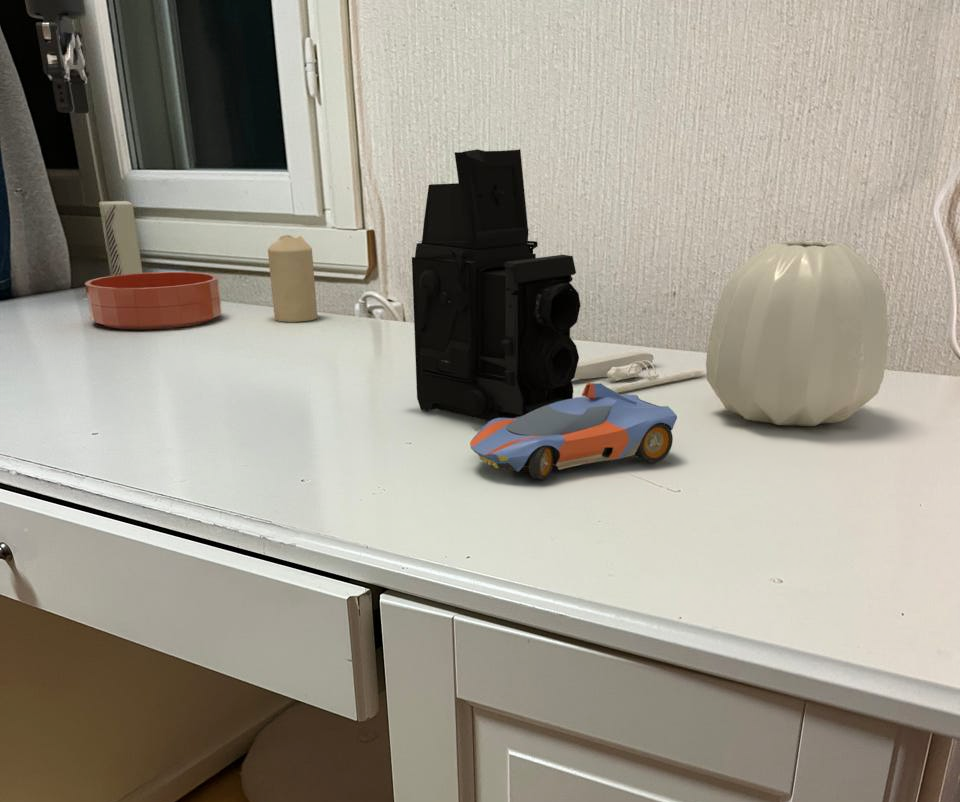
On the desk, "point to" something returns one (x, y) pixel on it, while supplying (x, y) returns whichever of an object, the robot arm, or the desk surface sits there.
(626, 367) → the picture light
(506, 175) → the camera
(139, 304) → the bowl
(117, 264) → the box
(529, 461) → the toy car
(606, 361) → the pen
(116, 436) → the desk surface
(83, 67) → the robot arm
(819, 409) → the vase
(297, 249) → the candle
